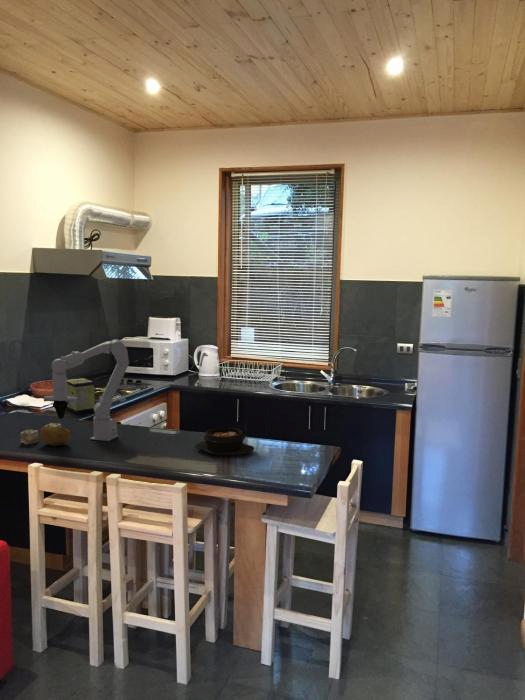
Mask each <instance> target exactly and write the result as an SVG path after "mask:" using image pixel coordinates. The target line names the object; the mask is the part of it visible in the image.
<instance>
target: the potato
mask: <svg viewBox="0 0 525 700" xmlns="http://www.w3.org/2000/svg"><path fill="white" fill-rule="evenodd" d="M44 426H45V427H44ZM44 426H43V427H41V428H40V430H39V437H40V439H41V441H42V442H43V443H45V444H46V445H49V446H51V447H55V446H56V447H57V446H63V445H65V444H67V443H68V442H69V441H70V440H71V436H72V434H71V431H70V430H69V429H68V428H64V427H62V426H61V427H55V426H46V425H44Z"/></svg>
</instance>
